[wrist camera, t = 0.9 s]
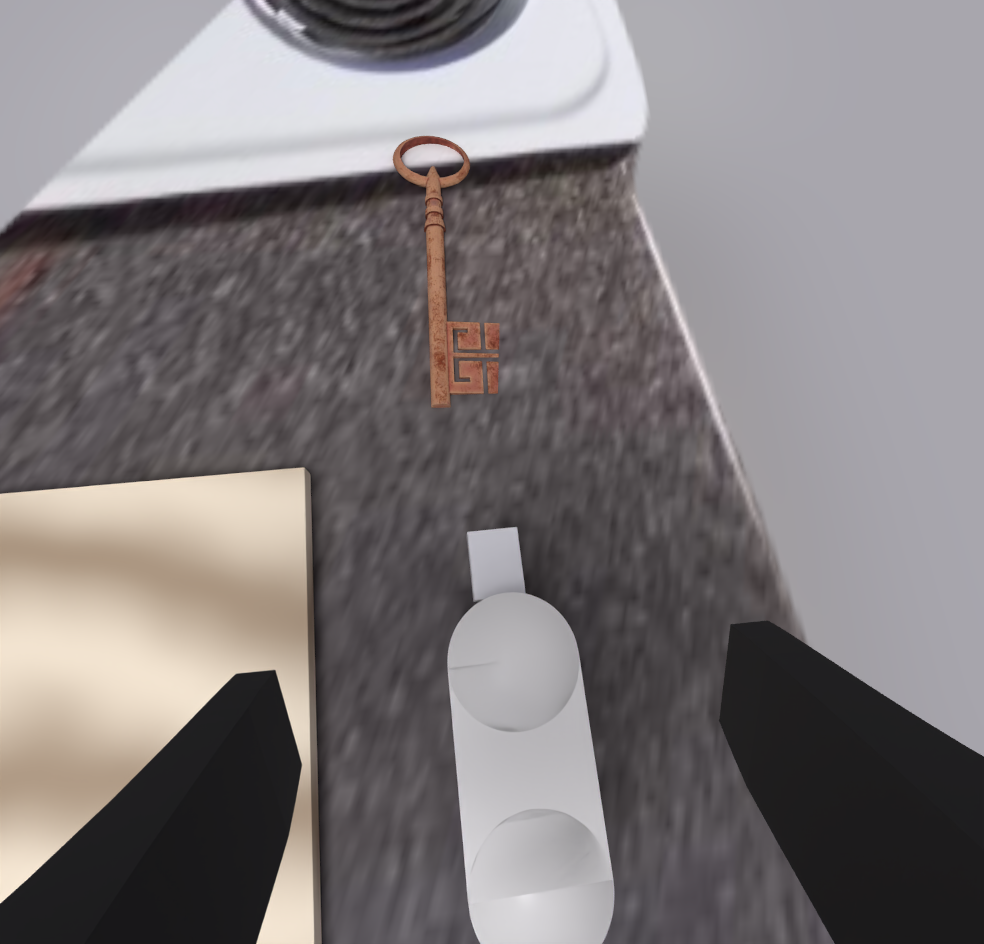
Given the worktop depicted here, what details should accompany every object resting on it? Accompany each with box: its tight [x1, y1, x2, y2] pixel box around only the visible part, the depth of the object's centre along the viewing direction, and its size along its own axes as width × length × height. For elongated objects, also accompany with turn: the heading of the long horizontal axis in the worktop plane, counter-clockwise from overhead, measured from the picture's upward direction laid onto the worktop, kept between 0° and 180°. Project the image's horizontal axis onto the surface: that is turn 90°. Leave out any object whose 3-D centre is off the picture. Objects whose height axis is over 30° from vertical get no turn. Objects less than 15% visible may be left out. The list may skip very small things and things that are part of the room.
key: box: [393, 136, 499, 408], centre depth 26 cm, size 6×1×15 cm
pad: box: [0, 467, 322, 944], centre depth 19 cm, size 22×14×1 cm, turn 7°
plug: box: [447, 527, 614, 944], centre depth 18 cm, size 12×4×5 cm, turn 7°
